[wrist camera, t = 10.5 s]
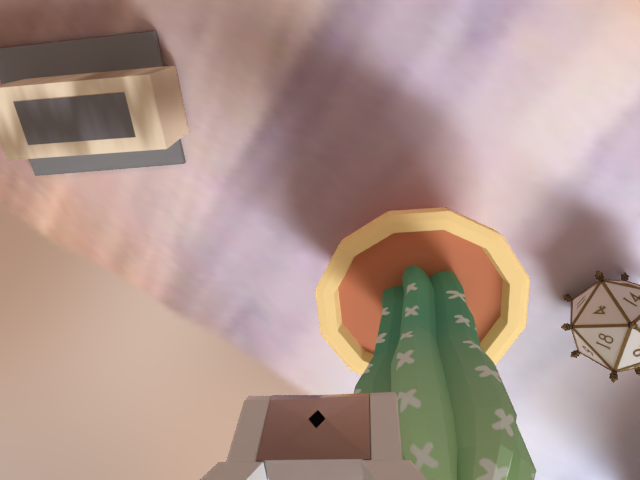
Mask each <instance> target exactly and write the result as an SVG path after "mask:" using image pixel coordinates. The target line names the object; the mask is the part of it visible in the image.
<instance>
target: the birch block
mask: <svg viewBox="0 0 640 480" xmlns="http://www.w3.org/2000/svg"><path fill="white" fill-rule="evenodd" d="M188 132H189V129H188V124H187V119H186V114H185V109H184V104H183V99H182V95H181V90H180V85H179V80H178V75H177V70H176V65H173V66H162V67H151V68H140V69H129V70H118V71H107V72H96V73H85V74H74V75H63V76H51V77H40V78H29V79H23V80H19V81H15V82H10V83H6V84H2V85H0V141H1V144H2V147H3V149H4V152H5V155H6V157H7V160H21V159H35V158H49V157H63V156H77V155H91V154H105V153H119V152H133V151H147V150H161V149H167V148H169V147H170V146H171V145H173V144H174V143H175V142H177V141H178V140H179V139H181V138H182V137H183V136H184V135H186V134H187V133H188Z"/></svg>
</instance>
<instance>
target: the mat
mask: <svg viewBox="0 0 640 480" xmlns="http://www.w3.org/2000/svg"><path fill="white" fill-rule="evenodd" d="M162 66H164V64H163V59H162V55H161V51H160V46H159V42H158V37H157V33H156V31H148V32H139V33H130V34H122V35H113V36H104V37H95V38H86V39H78V40H69V41H60V42H51V43H42V44H34V45H25V46H16V47H7V48H0V80H1V83H2V84H6V83H10V82H15V81H19V80H23V79H29V78H40V77H51V76H63V75H74V74H85V73H96V72H107V71H118V70H129V69H140V68H151V67H162ZM29 160H30V162H31V165H32V168H33V171H34V173H35V176H39V175H51V174H64V173H76V172H89V171H101V170H113V169H126V168H138V167H150V166H163V165H175V164H184V163H185V162H186V161H185V157H184V152H183V148H182V143H181V139H179V140H178V141H177V142H175V143H174V144H173V145H171V146H170V147H169V148H167V149H161V150H147V151H133V152H119V153H105V154H91V155H77V156H63V157H49V158H35V159H29Z"/></svg>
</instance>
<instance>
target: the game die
mask: <svg viewBox="0 0 640 480" xmlns="http://www.w3.org/2000/svg"><path fill="white" fill-rule="evenodd" d="M595 276H596V277H597V278H596V279H598V280H599V281H598V282H597V283H595V284H594V285H592V286H591V287H589V288H588V289H586V290H585V291H584V292H582V293H581V294H579V295H578V296H576V297H575V298H572V297H571V296H569V295H563V297H564V299H565V300H567V301H570V302H571V324H568V323H567V324H565V323H564V325H563V326H562V327H561V328H563V329H564V330H565V331H566V330H570V329H571V330H572V334H573V337H574V340H575V343H576V347H577V351H574V352H571V353H572V354H571V357H576V358H577V356H579V354H580V353H581V354H583V355H584V356H586V357H588V358H590V359H591V360H593V361H595V362H597V363H598V364H600V365H602V366H604V367H605V368H607V369H609V370H611V371H612V372H611V374H610V377H609V378H610V379H611V380H612V382H613V383H614V382H615V381H616V380H618V378H617V377H618V375H617V372H621V371H626V370H630V369H635V372H636V374H638V375H640V285H638V284H635V283H632V282H628V281H627V280H628V277H629V276H628V275H627V274H626V273H624V274H622V275H621V280H604V279H603V274H602V273H601V272H599V271H597V272H596V275H595Z"/></svg>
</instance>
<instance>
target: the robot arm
mask: <svg viewBox="0 0 640 480" xmlns="http://www.w3.org/2000/svg"><path fill="white" fill-rule="evenodd" d="M200 480H427V478H426V477H425V476H424V475H423V474H422V473H421V472H420V470H419V469H418V468H417V467H416V466H415V465H414V464H413V462H412V461H411V460H402V449H401V438H400V426H399V415H398V403H397V395H396V393H395V392H382V393H365V394H337V395H273V396H248V397H247V398H246V400H245V401H244V403H243V407H242V410H241V414H240V417H239V420H238V424H237V427H236V430H235V434H234V437H233V441H232V444H231V447H230V450H229V454H228V457H227V461H226V462H218V463H217V464H216V465H215V466H214V467H213V468H212V469H211V470H210V471H209V472H208V473H207V474H206V475H204V476H203V477H202V478H201V479H200Z"/></svg>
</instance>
